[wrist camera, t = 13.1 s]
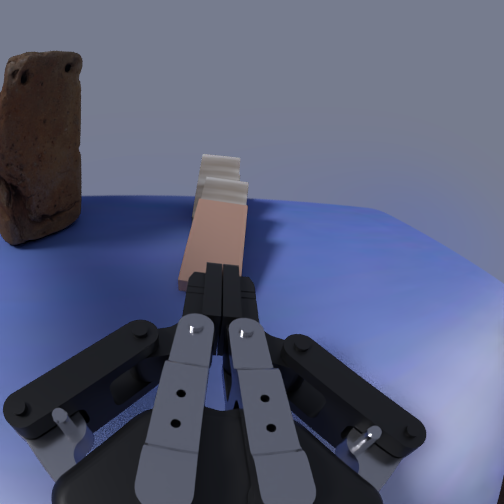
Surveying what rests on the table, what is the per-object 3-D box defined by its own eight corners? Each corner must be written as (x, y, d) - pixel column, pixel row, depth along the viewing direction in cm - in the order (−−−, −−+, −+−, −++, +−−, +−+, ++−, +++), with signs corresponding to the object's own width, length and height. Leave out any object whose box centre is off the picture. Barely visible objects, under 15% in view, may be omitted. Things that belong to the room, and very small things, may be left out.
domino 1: (241, 251, 29) (248, 182, 35) (189, 243, 28) (206, 176, 34) (239, 260, 30) (246, 192, 36) (189, 253, 30) (205, 186, 36)
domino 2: (240, 288, 24) (247, 205, 30) (178, 279, 23) (199, 198, 30) (237, 298, 25) (245, 216, 31) (178, 290, 24) (198, 209, 31)
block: (61, 205, 34) (63, 54, 23) (89, 222, 31) (95, 47, 21) (-7, 234, 25) (-17, 63, 15) (12, 259, 22) (-2, 52, 12)
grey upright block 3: (235, 221, 34) (240, 158, 38) (191, 216, 33) (202, 154, 38) (234, 228, 35) (238, 165, 40) (192, 224, 35) (202, 162, 39)
